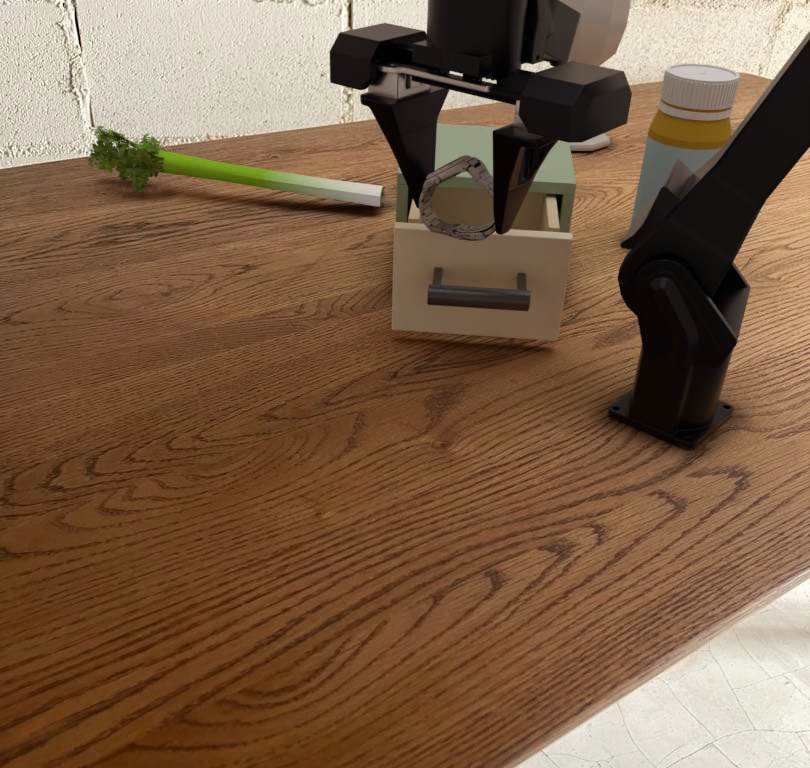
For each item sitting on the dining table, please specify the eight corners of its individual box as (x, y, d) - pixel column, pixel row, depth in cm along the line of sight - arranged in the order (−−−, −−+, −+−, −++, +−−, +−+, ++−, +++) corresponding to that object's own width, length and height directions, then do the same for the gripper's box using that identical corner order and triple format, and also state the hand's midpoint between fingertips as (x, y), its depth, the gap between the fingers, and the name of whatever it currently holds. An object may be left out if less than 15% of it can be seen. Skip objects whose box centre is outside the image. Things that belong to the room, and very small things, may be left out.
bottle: (704, 264, 84) (749, 85, 75) (627, 256, 85) (660, 78, 76) (701, 236, 89) (742, 65, 80) (628, 228, 90) (660, 59, 81)
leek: (374, 241, 90) (76, 190, 92) (384, 224, 96) (105, 177, 98) (381, 175, 87) (73, 123, 88) (392, 162, 93) (102, 114, 94)
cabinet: (559, 303, 77) (576, 183, 71) (393, 292, 78) (396, 172, 71) (552, 239, 88) (567, 130, 81) (407, 230, 88) (410, 121, 82)
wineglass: (521, 135, 113) (543, -70, 100) (582, 128, 116) (611, -72, 103) (560, 156, 107) (589, -58, 94) (622, 149, 110) (659, -60, 97)
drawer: (561, 372, 66) (577, 266, 61) (385, 360, 67) (387, 254, 62) (551, 273, 79) (564, 179, 74) (405, 263, 80) (408, 169, 75)
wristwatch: (432, 217, 64) (436, 142, 61) (514, 236, 62) (522, 159, 59) (407, 234, 62) (410, 156, 58) (491, 254, 59) (498, 174, 56)
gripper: (701, -54, 52) (647, 223, 62) (437, -87, 61) (427, 160, 70) (601, -33, 45) (558, 274, 55) (320, -74, 54) (326, 197, 64)
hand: (462, 220), depth 61 cm, fingers closed on wristwatch, 6 cm apart
